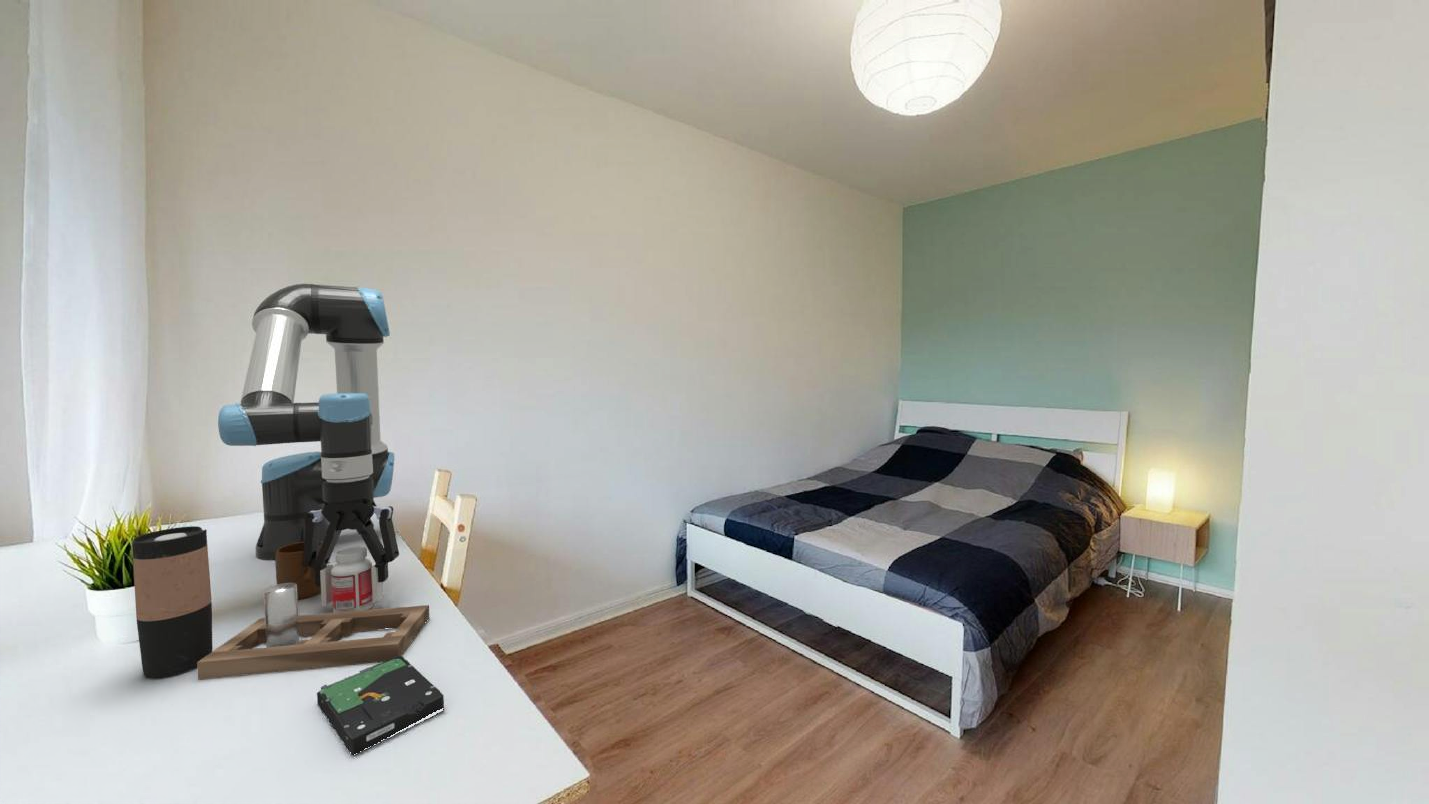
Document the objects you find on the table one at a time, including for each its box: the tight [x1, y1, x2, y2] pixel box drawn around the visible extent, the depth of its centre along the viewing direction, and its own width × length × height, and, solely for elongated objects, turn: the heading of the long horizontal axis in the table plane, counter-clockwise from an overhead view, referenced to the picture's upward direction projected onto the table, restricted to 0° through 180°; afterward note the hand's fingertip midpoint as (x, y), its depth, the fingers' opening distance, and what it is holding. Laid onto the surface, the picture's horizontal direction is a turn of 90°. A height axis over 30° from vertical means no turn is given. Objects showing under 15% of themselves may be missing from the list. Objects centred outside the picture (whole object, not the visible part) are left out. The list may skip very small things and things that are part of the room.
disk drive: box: [316, 655, 445, 756], centre depth 66 cm, size 10×3×15 cm
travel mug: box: [131, 525, 213, 680], centre depth 75 cm, size 8×8×20 cm
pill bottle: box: [331, 546, 375, 613], centre depth 93 cm, size 6×6×11 cm
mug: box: [274, 541, 323, 600], centre depth 99 cm, size 12×8×9 cm, turn 54°
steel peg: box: [262, 583, 301, 648], centre depth 79 cm, size 4×4×10 cm
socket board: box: [196, 604, 430, 680], centre depth 81 cm, size 13×26×2 cm, turn 101°
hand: (353, 600), depth 93 cm, fingers open, 8 cm apart
